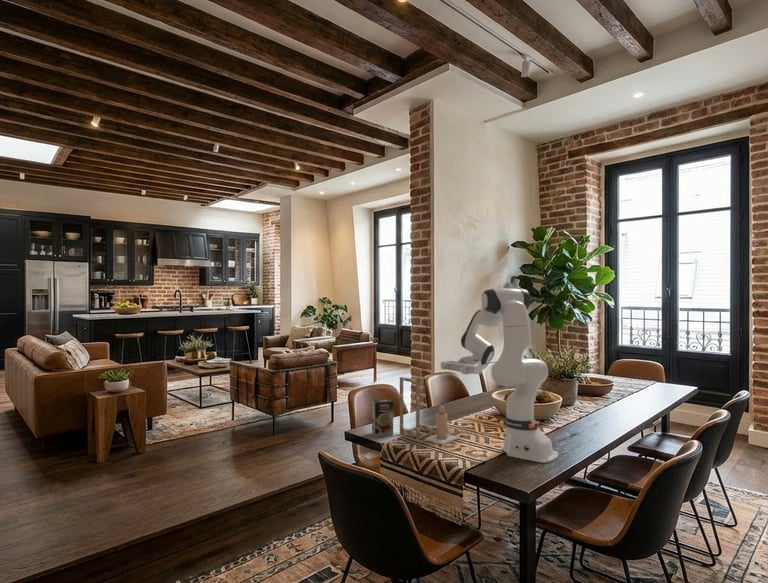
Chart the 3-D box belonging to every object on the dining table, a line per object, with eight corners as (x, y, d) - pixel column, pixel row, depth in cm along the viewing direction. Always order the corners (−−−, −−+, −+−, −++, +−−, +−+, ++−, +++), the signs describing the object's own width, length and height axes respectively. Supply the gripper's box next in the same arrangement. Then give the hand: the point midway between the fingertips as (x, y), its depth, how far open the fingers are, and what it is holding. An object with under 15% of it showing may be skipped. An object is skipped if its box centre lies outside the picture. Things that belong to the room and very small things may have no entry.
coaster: (458, 438, 213) (458, 437, 213) (442, 445, 204) (442, 443, 204) (440, 434, 220) (440, 432, 220) (424, 440, 211) (424, 438, 211)
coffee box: (375, 437, 216) (375, 402, 216) (371, 432, 222) (371, 399, 222) (393, 435, 218) (393, 401, 218) (390, 431, 224) (389, 398, 224)
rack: (436, 432, 222) (436, 376, 222) (418, 439, 212) (418, 380, 212) (418, 427, 230) (418, 373, 230) (399, 434, 220) (399, 377, 220)
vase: (449, 437, 212) (449, 406, 213) (443, 439, 209) (443, 408, 209) (440, 435, 216) (440, 405, 216) (434, 437, 212) (434, 407, 212)
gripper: (449, 357, 243) (433, 360, 233) (484, 361, 229) (468, 364, 219) (449, 369, 243) (433, 372, 233) (483, 374, 229) (468, 378, 219)
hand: (450, 368), depth 226 cm, fingers open, 8 cm apart
